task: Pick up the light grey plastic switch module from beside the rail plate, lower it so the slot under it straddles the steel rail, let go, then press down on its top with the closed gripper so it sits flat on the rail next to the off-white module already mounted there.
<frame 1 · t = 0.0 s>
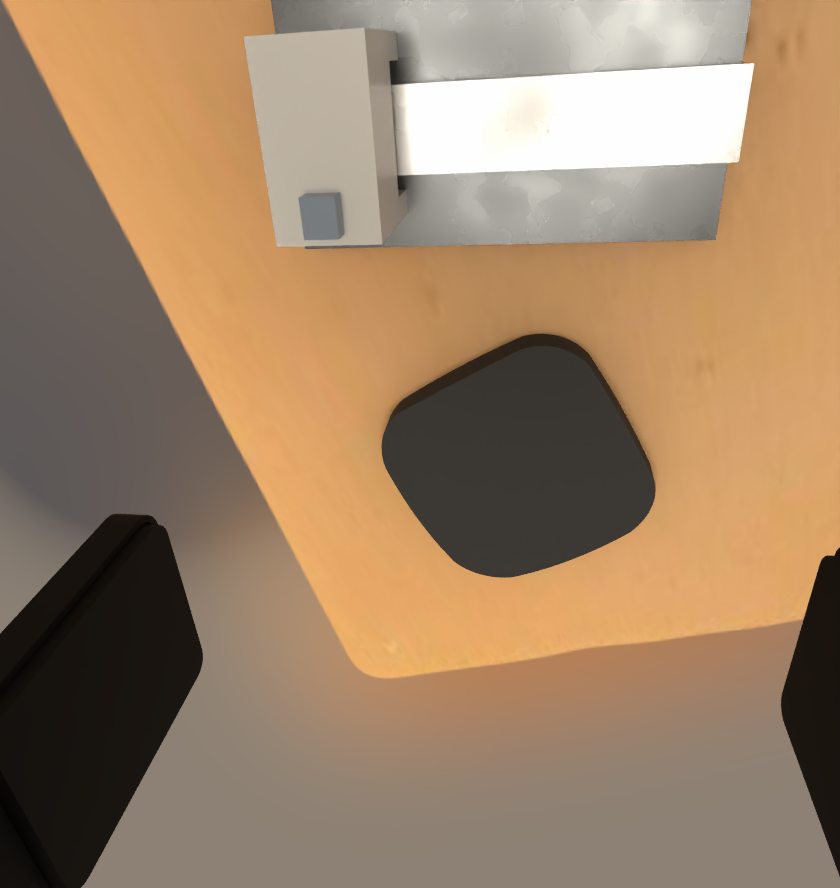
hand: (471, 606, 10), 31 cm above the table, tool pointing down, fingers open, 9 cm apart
mounted module: (354, 129, 35), point 1 cm above the table, touching rail plate
rail plate: (501, 120, 35), on the table
media streaming box: (517, 453, 45), on the table
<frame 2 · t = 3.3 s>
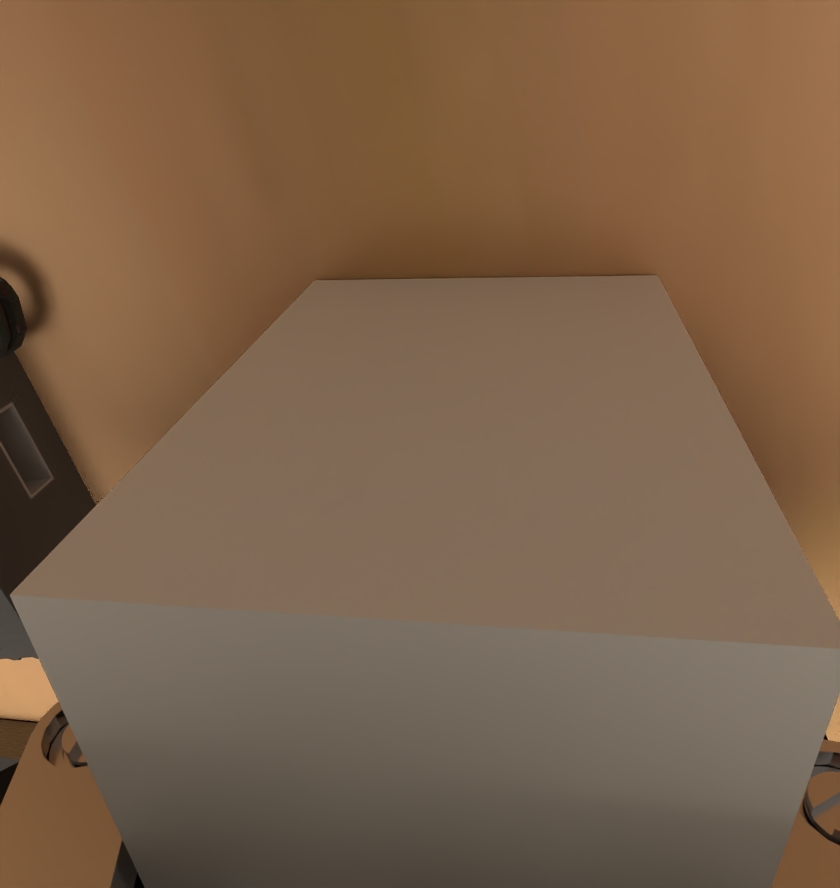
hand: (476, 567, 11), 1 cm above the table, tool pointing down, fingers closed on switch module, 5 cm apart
switch module: (483, 513, 12), on the table, touching gripper
rail plate: (275, 881, 19), on the table
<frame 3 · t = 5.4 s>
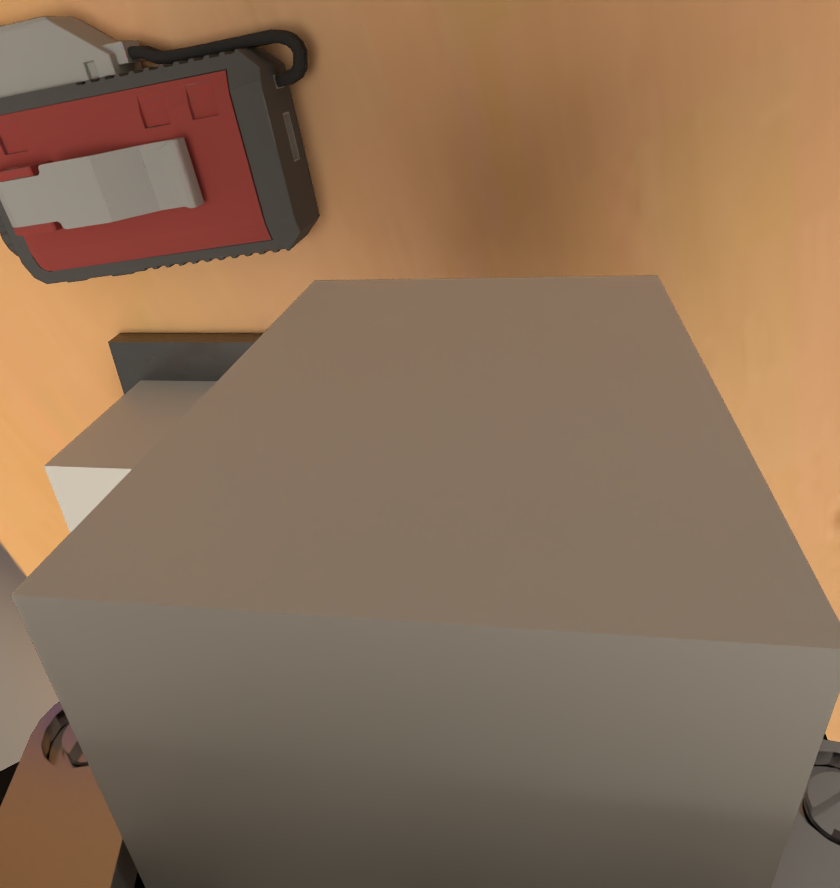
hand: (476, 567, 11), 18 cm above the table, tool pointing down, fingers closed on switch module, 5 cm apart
mounted module: (214, 462, 32), point 1 cm above the table, touching rail plate
walkie-talkie: (88, 151, 27), on the table
switch module: (483, 513, 12), point 16 cm above the table, touching gripper
rail plate: (376, 456, 32), on the table
when the fingers open (3 cm above the table, at t = 8.7 s): switch module stays where it is, resting on rail plate.
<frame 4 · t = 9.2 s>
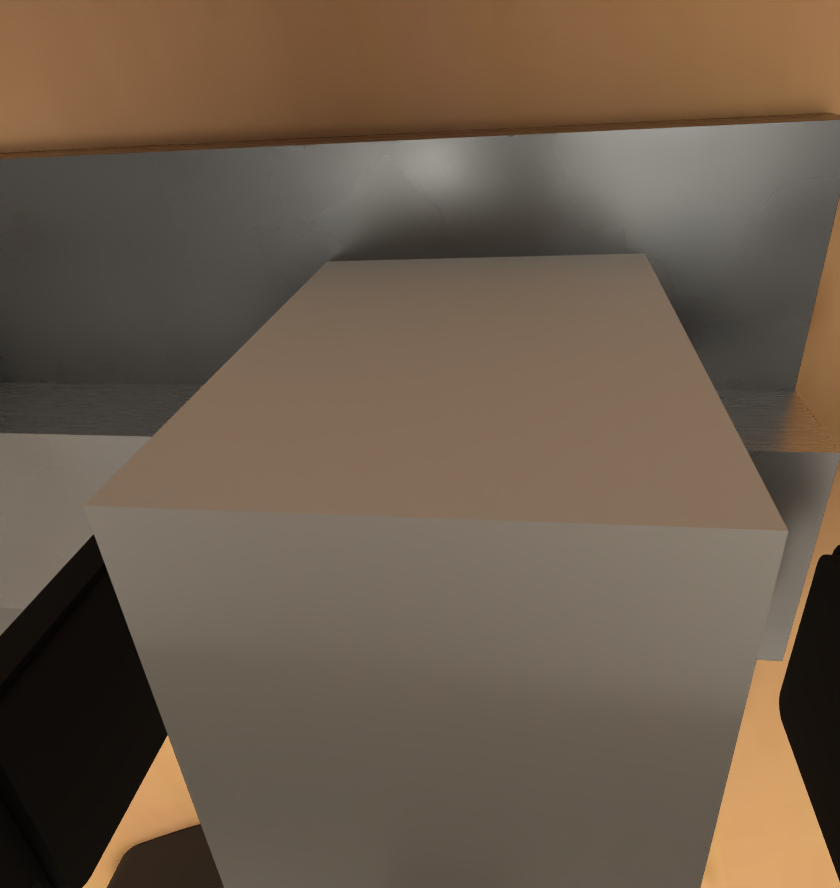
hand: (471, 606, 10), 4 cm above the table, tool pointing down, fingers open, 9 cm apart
switch module: (484, 481, 13), point 1 cm above the table, touching rail plate
rail plate: (208, 449, 15), on the table
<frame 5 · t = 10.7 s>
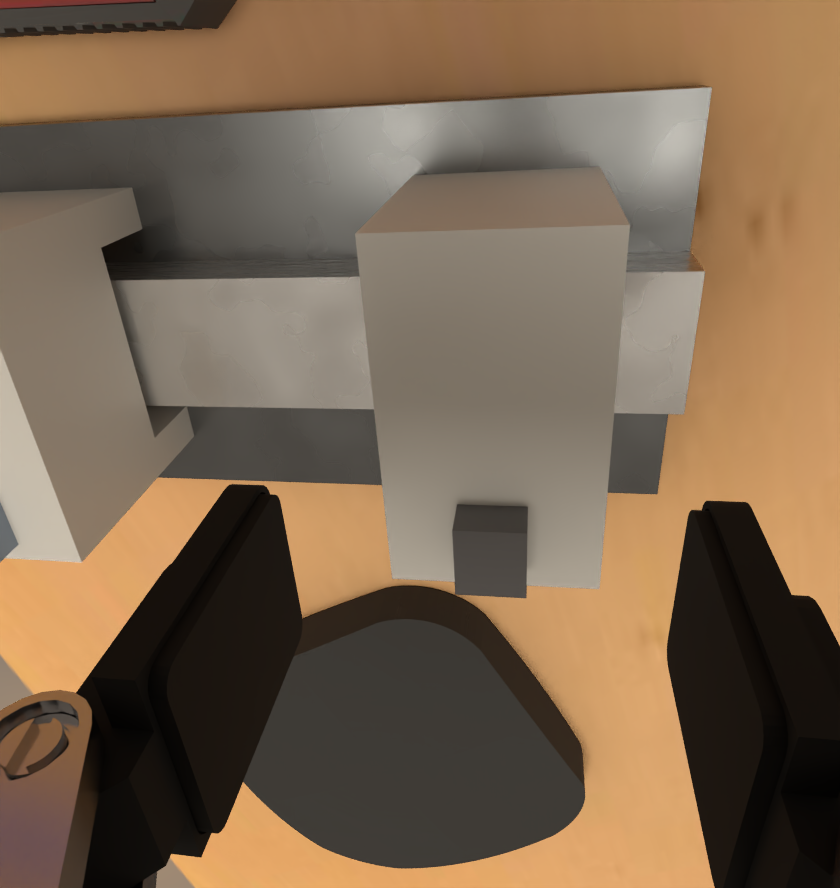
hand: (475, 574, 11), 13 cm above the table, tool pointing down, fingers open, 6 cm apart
mounted module: (95, 323, 23), point 1 cm above the table, touching rail plate
switch module: (505, 320, 21), point 1 cm above the table, touching rail plate
rail plate: (322, 312, 22), on the table
media streaming box: (399, 713, 33), on the table
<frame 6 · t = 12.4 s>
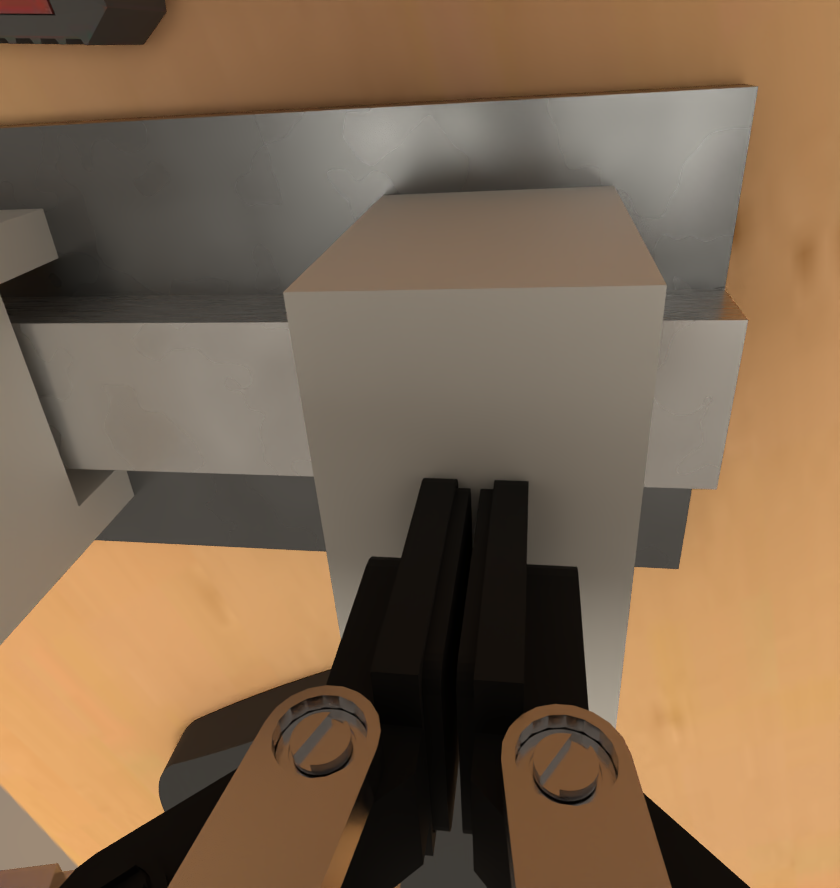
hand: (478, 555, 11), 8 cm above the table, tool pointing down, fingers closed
mounted module: (11, 367, 19), point 1 cm above the table, touching rail plate
switch module: (497, 368, 17), point 1 cm above the table, touching gripper, rail plate
rail plate: (280, 354, 19), on the table
media streaming box: (382, 788, 29), on the table
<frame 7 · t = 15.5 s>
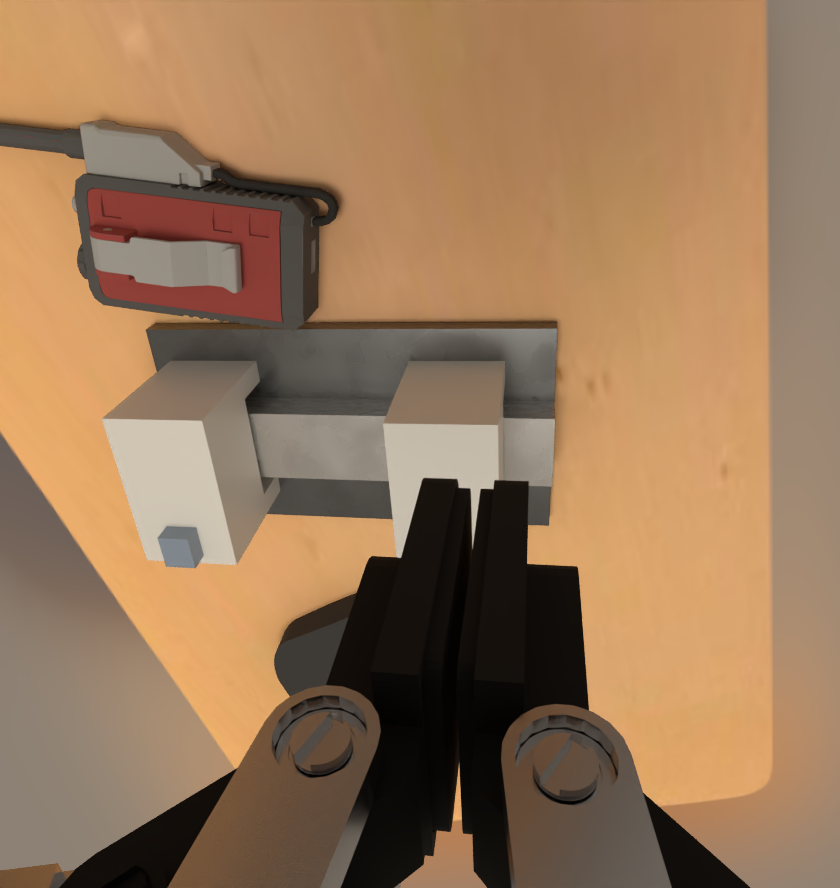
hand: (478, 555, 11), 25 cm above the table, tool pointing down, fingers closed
mounted module: (227, 428, 40), point 1 cm above the table, touching rail plate
walkie-talkie: (157, 215, 36), on the table
switch module: (459, 432, 38), point 1 cm above the table, touching rail plate
rail plate: (357, 422, 39), on the table
media streaming box: (401, 663, 50), on the table
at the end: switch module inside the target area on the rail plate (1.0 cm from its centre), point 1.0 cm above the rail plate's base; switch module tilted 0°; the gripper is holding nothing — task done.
